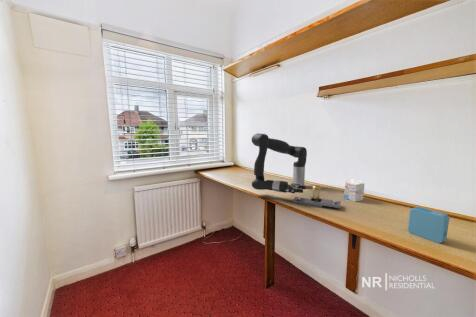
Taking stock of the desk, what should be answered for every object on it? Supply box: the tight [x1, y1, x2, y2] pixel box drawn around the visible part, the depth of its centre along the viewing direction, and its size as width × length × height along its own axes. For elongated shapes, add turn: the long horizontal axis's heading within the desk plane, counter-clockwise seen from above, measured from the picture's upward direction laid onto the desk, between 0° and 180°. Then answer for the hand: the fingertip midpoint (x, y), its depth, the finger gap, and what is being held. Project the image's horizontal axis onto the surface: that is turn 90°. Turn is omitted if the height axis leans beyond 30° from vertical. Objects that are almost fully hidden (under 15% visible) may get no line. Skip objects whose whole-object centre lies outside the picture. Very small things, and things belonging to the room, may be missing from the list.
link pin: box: [311, 184, 322, 202], centre depth 130 cm, size 5×5×12 cm
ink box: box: [343, 178, 365, 202], centre depth 139 cm, size 9×8×13 cm
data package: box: [407, 206, 450, 244], centre depth 91 cm, size 12×4×12 cm, turn 30°
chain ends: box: [291, 196, 342, 209], centre depth 131 cm, size 28×9×4 cm, turn 61°
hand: (304, 189), depth 134 cm, fingers open, 8 cm apart
